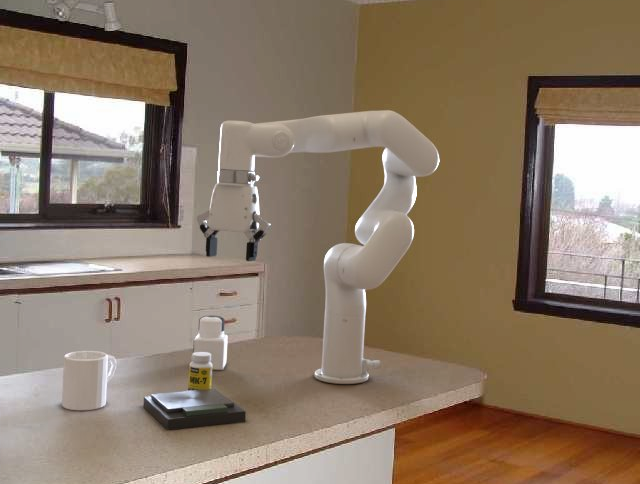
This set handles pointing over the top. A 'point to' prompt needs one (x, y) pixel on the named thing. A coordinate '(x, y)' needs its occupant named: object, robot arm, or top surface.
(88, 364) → the mug
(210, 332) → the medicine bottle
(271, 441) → the top surface
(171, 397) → the scale pan
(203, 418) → the scale
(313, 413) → the top surface
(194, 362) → the supplement bottle
